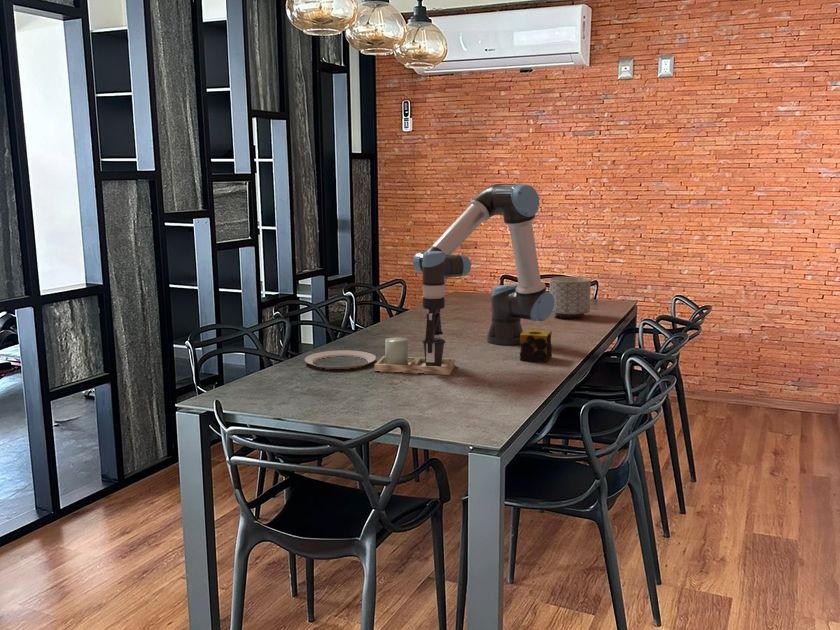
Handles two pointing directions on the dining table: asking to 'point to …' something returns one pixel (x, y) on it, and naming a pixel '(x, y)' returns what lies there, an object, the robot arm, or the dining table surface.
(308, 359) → the plate
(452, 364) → the birch caddy
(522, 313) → the robot arm
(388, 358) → the pale grey-green cylinder
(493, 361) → the dining table surface
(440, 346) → the coffee cup
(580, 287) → the planter
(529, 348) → the yellow die
